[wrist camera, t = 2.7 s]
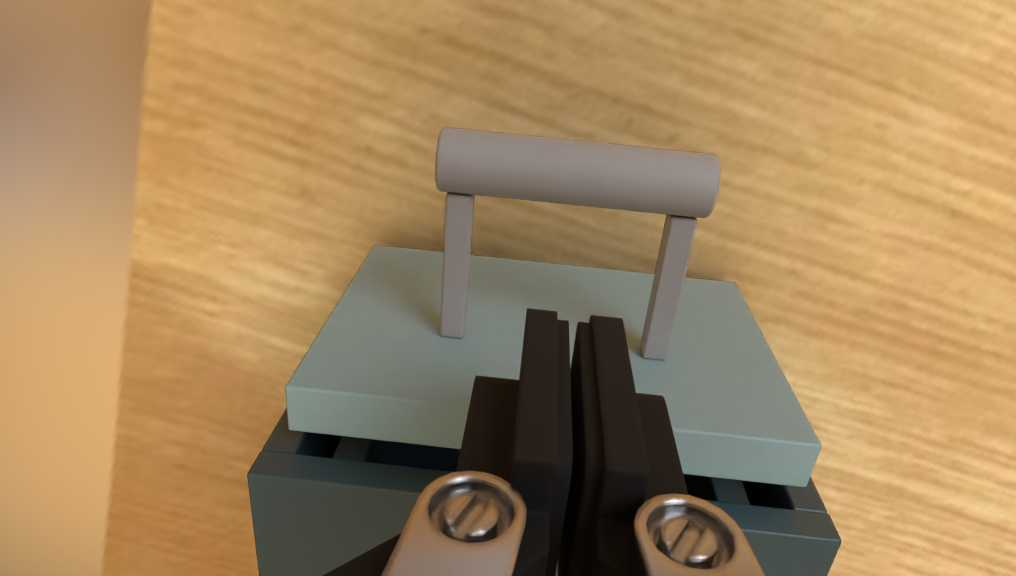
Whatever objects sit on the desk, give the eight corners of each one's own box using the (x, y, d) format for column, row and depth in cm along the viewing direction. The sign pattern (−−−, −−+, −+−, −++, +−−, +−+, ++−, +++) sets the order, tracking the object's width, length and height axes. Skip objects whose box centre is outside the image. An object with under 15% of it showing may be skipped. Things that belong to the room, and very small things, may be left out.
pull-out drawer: (372, 77, 19) (265, 151, 12) (779, 117, 19) (909, 216, 12) (375, 549, 27) (313, 753, 20) (656, 582, 27) (690, 799, 20)
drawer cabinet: (363, 277, 23) (245, 473, 14) (735, 317, 23) (843, 541, 14) (367, 577, 29) (288, 834, 21) (655, 611, 29) (696, 885, 21)
